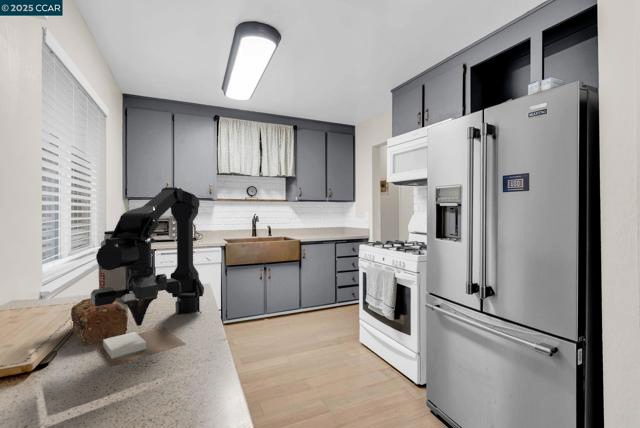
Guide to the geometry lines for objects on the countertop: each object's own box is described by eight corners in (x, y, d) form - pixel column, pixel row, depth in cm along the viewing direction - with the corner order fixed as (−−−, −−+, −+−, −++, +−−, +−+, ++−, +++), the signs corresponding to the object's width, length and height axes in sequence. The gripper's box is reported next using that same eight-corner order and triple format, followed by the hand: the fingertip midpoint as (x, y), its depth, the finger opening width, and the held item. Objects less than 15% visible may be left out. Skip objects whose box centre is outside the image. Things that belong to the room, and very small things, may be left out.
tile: (135, 331, 82) (103, 339, 77) (145, 341, 75) (111, 351, 70) (135, 339, 82) (103, 347, 77) (146, 349, 75) (111, 359, 70)
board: (164, 331, 90) (163, 327, 90) (186, 348, 79) (186, 343, 79) (96, 348, 79) (96, 344, 79) (110, 371, 67) (110, 366, 67)
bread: (128, 340, 85) (128, 303, 84) (78, 352, 77) (78, 311, 77) (113, 322, 98) (113, 290, 98) (69, 331, 91) (69, 297, 91)
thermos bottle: (102, 322, 98) (101, 232, 98) (96, 316, 103) (95, 231, 103) (131, 315, 104) (130, 230, 104) (123, 310, 109) (123, 229, 109)
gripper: (99, 272, 66) (100, 346, 66) (189, 262, 79) (189, 324, 79) (90, 265, 74) (90, 332, 74) (172, 257, 87) (173, 313, 87)
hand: (138, 325), depth 78 cm, fingers closed
